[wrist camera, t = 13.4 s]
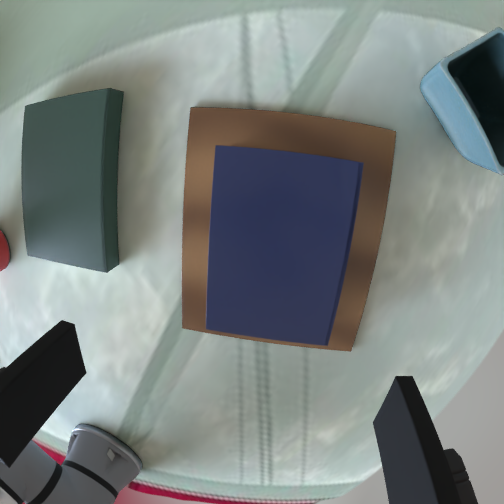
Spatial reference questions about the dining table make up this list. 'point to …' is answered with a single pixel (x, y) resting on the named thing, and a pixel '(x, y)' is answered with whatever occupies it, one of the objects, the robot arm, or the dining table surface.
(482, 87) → the flower pot
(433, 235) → the dining table surface
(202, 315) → the brown wooden board
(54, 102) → the green notebook
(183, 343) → the dining table surface
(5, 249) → the beer can
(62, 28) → the dining table surface
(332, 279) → the navy book
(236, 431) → the dining table surface
